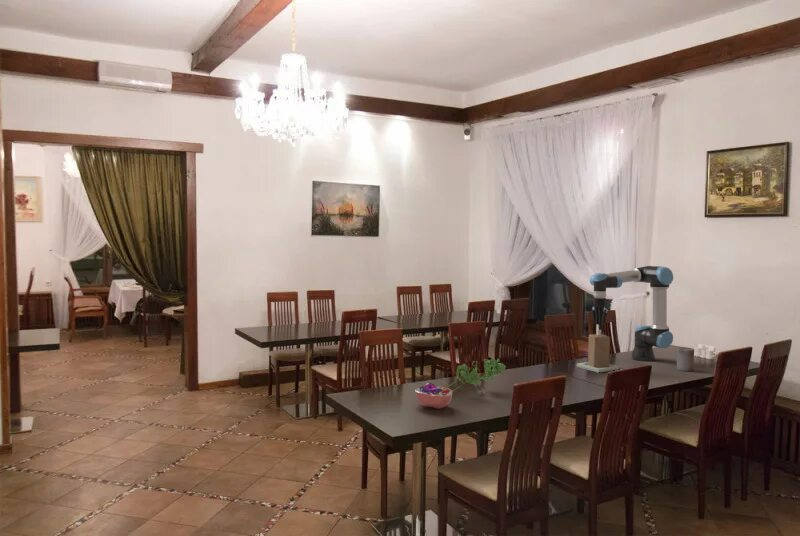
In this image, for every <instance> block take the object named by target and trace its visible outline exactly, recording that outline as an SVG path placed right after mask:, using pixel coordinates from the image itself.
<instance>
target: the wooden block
mask: <svg viewBox="0 0 800 536" xmlns="http://www.w3.org/2000/svg"><path fill="white" fill-rule="evenodd" d="M610 345H611V337H610V336H608V335H605V334H601V335H596V334H588V353H587V358H588V359H587V362H588V365H589V366H592V367H595V368H604V367H609V364H610V352H611V350H610V349H611V346H610Z"/></svg>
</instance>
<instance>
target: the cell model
mask: <svg viewBox="0 0 800 536" xmlns="http://www.w3.org/2000/svg"><path fill="white" fill-rule="evenodd" d="M414 392H415V394H416V399H417V400H418V402H419V404H420V405H422V406H423V407H426V408H427V407H428V408H434V409H438V410H439V409H442V408H445V407H448V406H449V404H450V403H451V401H452V398H453V397H452V396H453V392H454V391H453V389H450V388H448V387H445V386H444V387H443V386H439V385H438V386H437V385H436V386H435V384H433V383H432V382H427V383H425V384H424V385H422V386H419V387H418V386H417V388H415V389H414Z"/></svg>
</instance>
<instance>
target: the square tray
mask: <svg viewBox="0 0 800 536" xmlns="http://www.w3.org/2000/svg"><path fill="white" fill-rule="evenodd" d="M576 367H577V368H579V369H583V370H586V371H591V372H595V373H599V372H600V373H604V372H612V371H613V370H615V371H619V370H618V369H620V366H618V365H614V364H610V363H609V367H604V368H595V367H592V366H589V365H588V361H587V362H579V363H578V362H577V363H576ZM600 373H599V374H600Z"/></svg>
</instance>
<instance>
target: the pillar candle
mask: <svg viewBox="0 0 800 536" xmlns="http://www.w3.org/2000/svg"><path fill="white" fill-rule="evenodd" d="M676 348H677V349H676V351H677V352H676V353H677V354H676V370H677V371H682V372H689V371H690V372H693V371H694V365H695V362H694V361H695V349H694V348H691V347H687V346H685V347H684V346H683V347H681V346H680V347H676Z"/></svg>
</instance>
